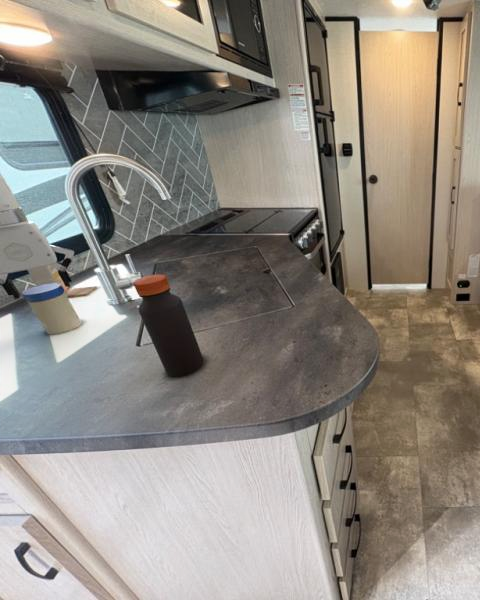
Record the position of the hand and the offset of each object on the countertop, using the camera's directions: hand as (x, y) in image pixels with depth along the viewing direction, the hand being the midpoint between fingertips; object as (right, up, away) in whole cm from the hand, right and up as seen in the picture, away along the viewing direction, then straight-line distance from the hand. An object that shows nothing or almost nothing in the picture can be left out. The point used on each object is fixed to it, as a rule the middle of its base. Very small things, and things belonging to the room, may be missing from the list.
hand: (43, 290), depth 77 cm
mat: (-16, 0, +24) cm, 29 cm away
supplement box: (-23, 0, +25) cm, 34 cm away
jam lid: (0, 0, 0) cm, 0 cm away
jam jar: (0, -9, +5) cm, 11 cm away
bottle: (+42, -17, -11) cm, 47 cm away
